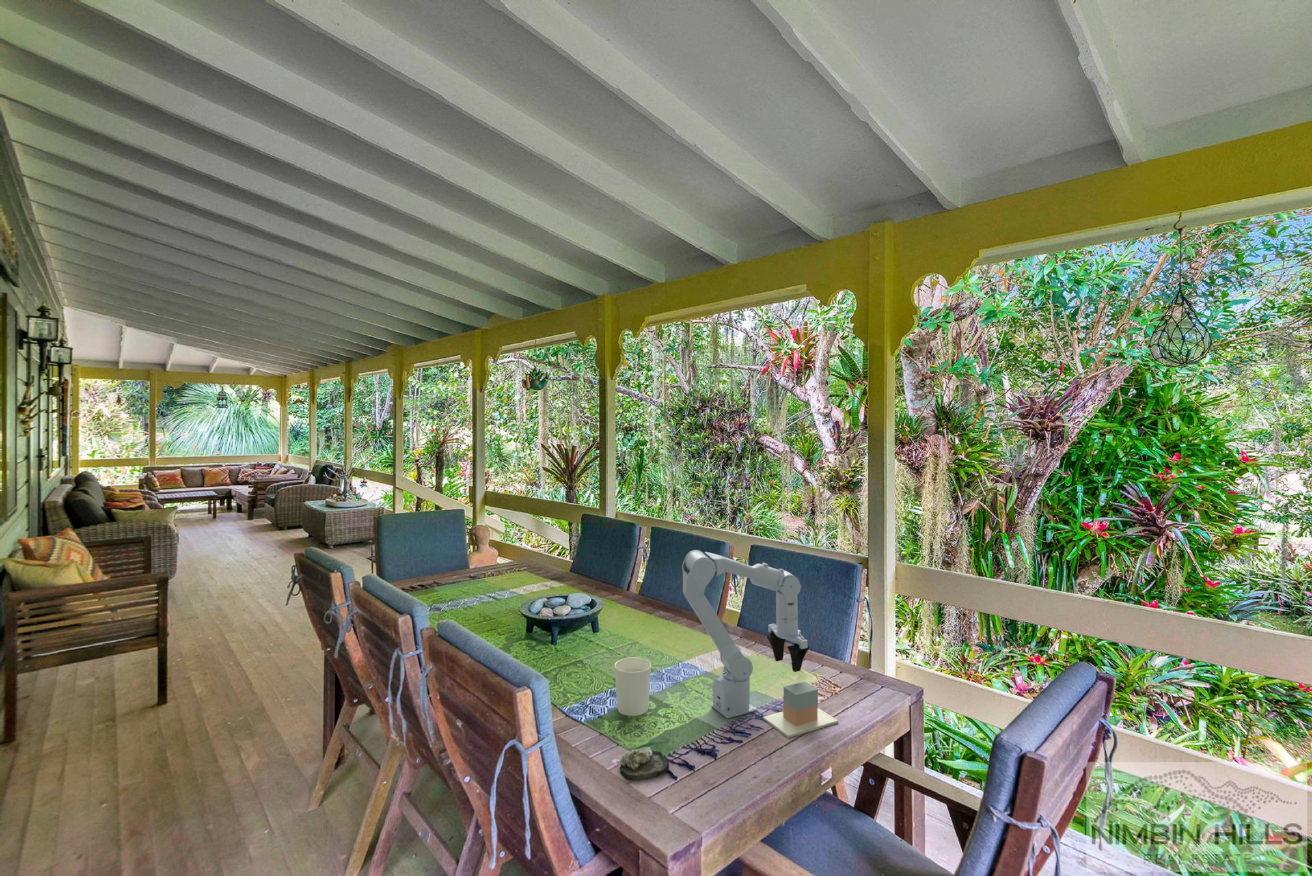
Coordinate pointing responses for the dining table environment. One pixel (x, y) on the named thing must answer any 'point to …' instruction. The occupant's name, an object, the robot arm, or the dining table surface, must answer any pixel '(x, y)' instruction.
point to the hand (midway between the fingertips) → (787, 665)
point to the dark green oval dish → (643, 764)
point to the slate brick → (800, 695)
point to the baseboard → (793, 730)
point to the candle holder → (632, 685)
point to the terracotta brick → (800, 714)
